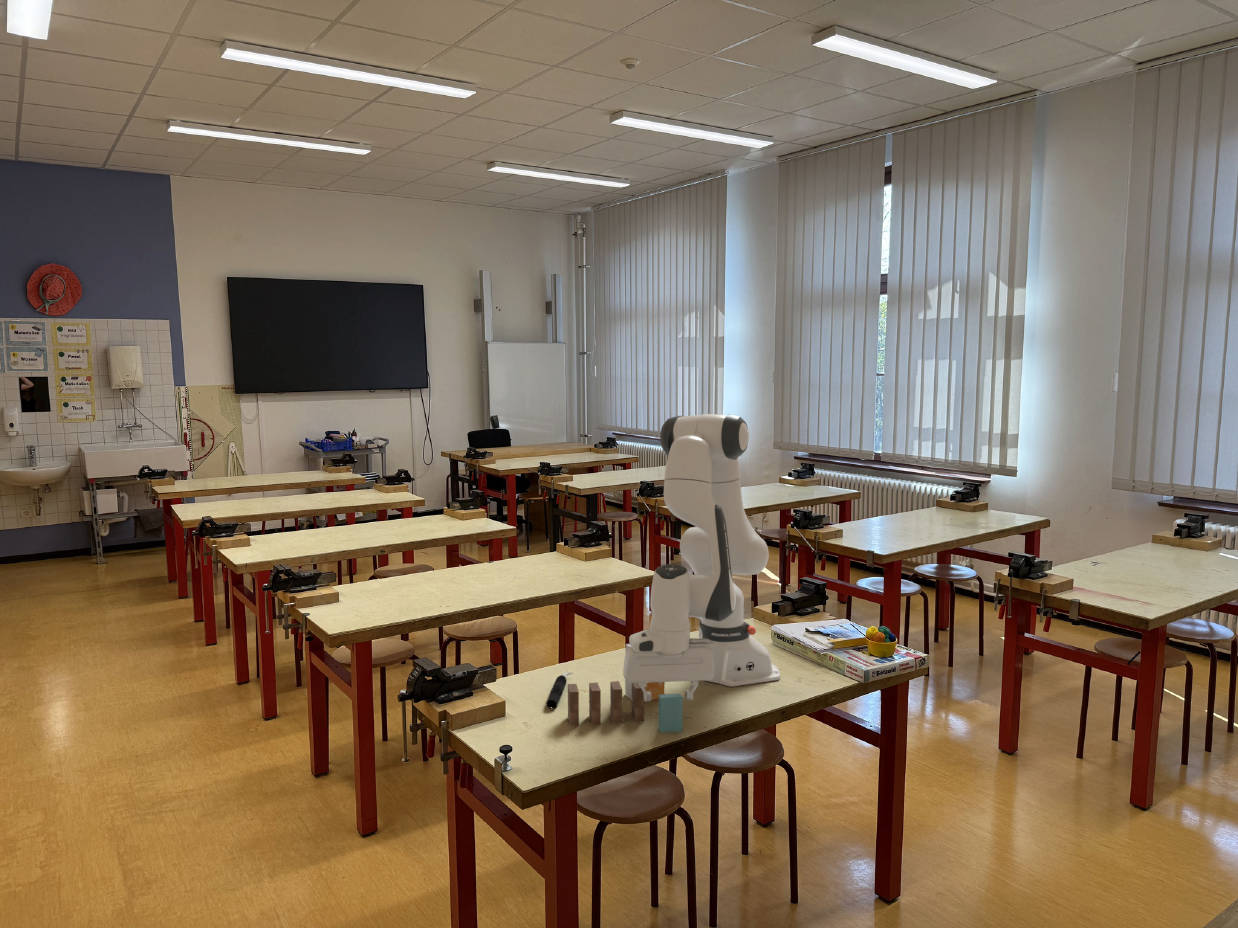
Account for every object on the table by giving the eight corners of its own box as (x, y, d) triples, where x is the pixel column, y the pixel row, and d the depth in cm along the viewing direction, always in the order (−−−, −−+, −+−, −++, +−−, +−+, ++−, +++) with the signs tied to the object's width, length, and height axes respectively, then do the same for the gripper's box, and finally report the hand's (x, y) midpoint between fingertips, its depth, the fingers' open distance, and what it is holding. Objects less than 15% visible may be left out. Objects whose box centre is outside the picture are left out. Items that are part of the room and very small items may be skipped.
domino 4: (639, 712, 196) (640, 679, 196) (643, 721, 192) (644, 687, 191) (631, 713, 196) (631, 680, 195) (635, 721, 191) (635, 688, 190)
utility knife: (559, 677, 220) (559, 666, 219) (574, 678, 219) (574, 667, 219) (545, 710, 198) (545, 698, 198) (561, 710, 198) (561, 698, 198)
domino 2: (597, 715, 195) (597, 682, 194) (600, 724, 190) (600, 690, 189) (589, 715, 195) (589, 682, 194) (592, 724, 190) (591, 690, 189)
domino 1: (576, 716, 194) (576, 683, 193) (578, 725, 189) (578, 691, 188) (567, 717, 194) (567, 684, 193) (570, 726, 189) (569, 692, 188)
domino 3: (618, 713, 196) (618, 681, 195) (622, 722, 191) (622, 689, 190) (610, 714, 195) (610, 681, 194) (613, 723, 190) (613, 689, 190)
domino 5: (658, 728, 188) (658, 694, 187) (680, 727, 188) (680, 693, 187) (660, 732, 186) (660, 698, 185) (682, 731, 186) (682, 696, 185)
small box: (635, 703, 202) (635, 651, 200) (624, 694, 207) (624, 643, 206) (665, 698, 205) (665, 646, 204) (653, 689, 211) (653, 639, 209)
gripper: (711, 633, 189) (710, 692, 190) (622, 636, 186) (621, 696, 187) (719, 642, 183) (717, 703, 184) (627, 644, 180) (625, 706, 181)
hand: (668, 699), depth 186 cm, fingers open, 8 cm apart
